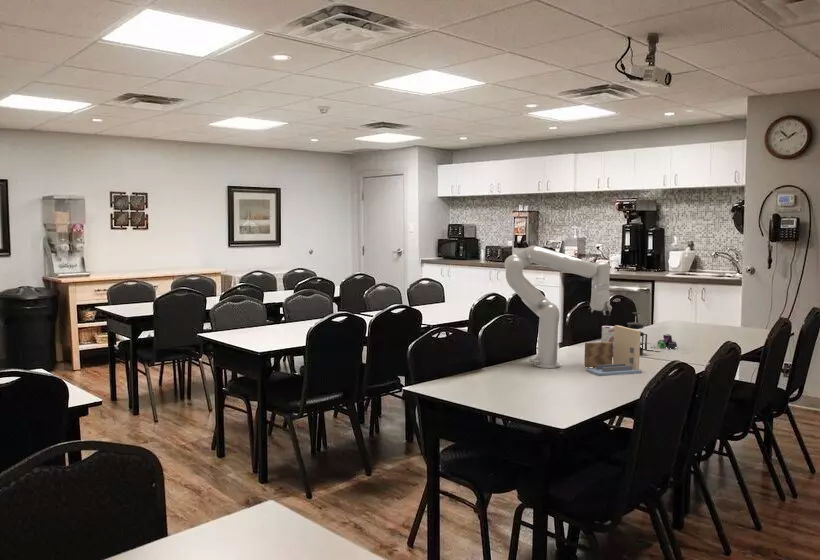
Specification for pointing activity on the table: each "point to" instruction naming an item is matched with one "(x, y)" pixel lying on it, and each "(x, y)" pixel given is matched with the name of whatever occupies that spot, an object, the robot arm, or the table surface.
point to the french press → (640, 326)
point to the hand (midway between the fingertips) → (600, 321)
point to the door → (598, 354)
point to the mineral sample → (667, 342)
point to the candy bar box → (608, 335)
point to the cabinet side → (622, 353)
